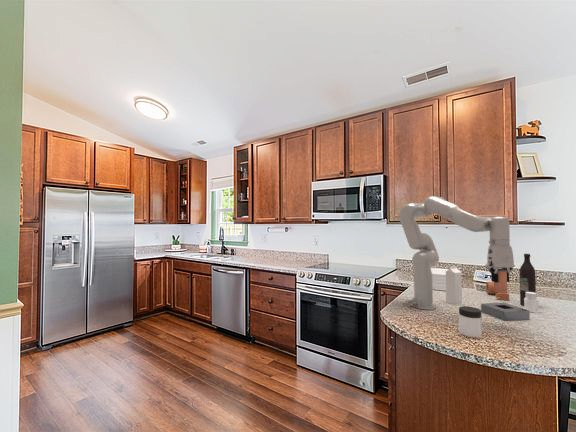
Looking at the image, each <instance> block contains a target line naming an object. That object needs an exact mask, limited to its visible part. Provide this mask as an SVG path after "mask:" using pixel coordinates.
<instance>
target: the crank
mask: <svg viewBox="0 0 576 432" xmlns="http://www.w3.org/2000/svg"><path fill="white" fill-rule="evenodd" d="M485 290H486V294H489V295H490V294H491V295H494V296H495V298H496V299H497V300H498V301H508V302H509V301H510V294H509V292H508V291H507V293H498V292H494V282H493V281H486V283H485Z"/></svg>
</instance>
